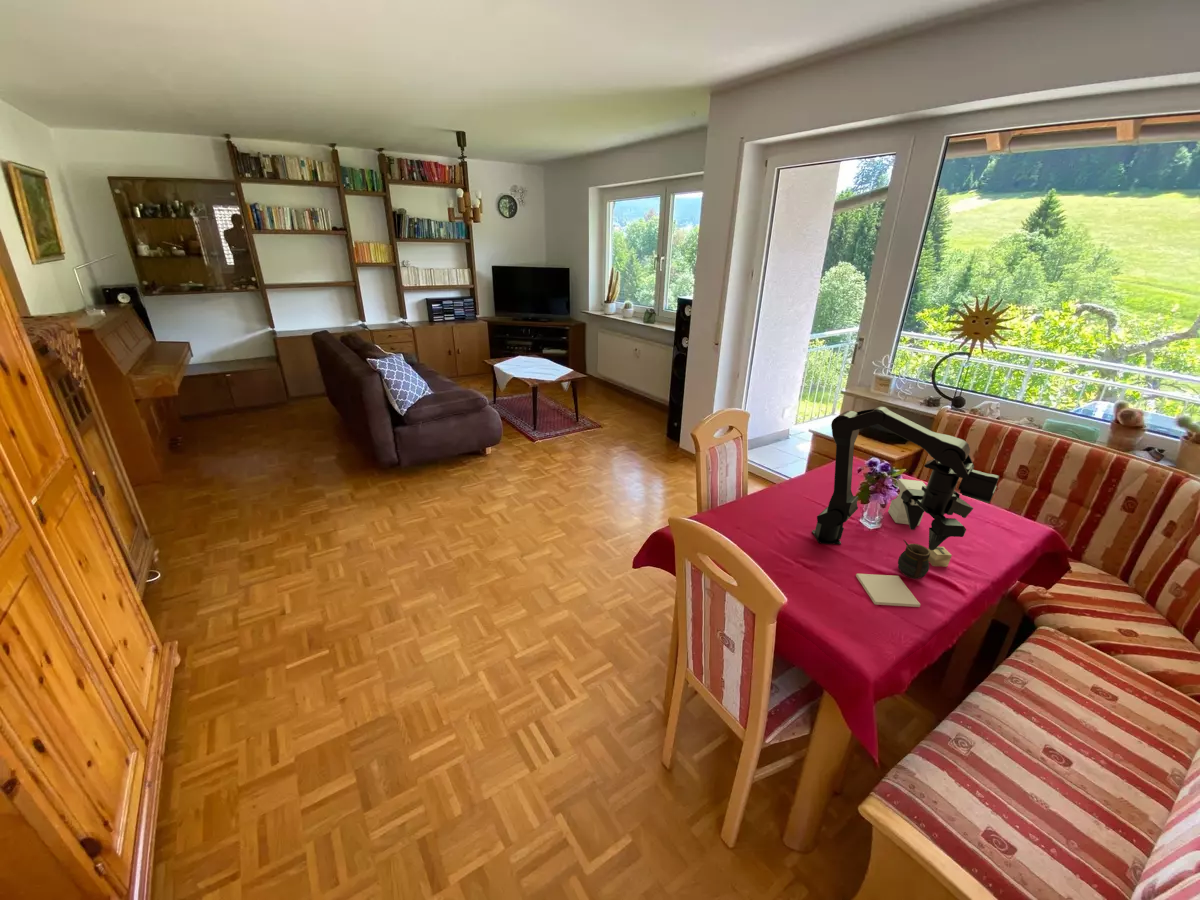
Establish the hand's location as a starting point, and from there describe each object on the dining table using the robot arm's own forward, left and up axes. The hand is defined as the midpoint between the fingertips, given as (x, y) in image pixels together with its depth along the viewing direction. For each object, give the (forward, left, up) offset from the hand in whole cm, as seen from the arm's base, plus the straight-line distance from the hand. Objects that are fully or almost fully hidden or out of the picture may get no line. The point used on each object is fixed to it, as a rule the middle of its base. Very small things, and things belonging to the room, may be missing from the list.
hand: (921, 539), depth 129 cm
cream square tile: (-10, -8, -11) cm, 17 cm away
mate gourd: (0, 0, -11) cm, 11 cm away
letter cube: (+11, +6, -11) cm, 16 cm away
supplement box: (+13, +29, -11) cm, 34 cm away
